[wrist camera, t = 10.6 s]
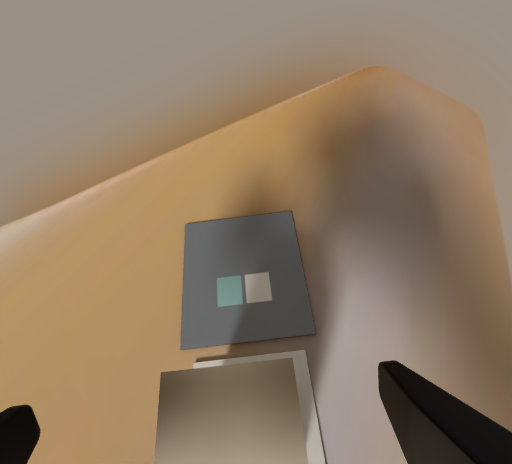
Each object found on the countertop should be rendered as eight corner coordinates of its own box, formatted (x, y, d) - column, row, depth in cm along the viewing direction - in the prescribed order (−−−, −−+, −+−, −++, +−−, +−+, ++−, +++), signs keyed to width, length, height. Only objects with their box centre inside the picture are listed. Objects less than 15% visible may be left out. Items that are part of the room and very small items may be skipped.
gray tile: (315, 334, 21) (316, 333, 20) (181, 350, 21) (180, 349, 20) (291, 212, 26) (291, 210, 26) (186, 225, 26) (185, 223, 26)
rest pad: (331, 500, 16) (332, 502, 16) (192, 515, 16) (191, 517, 16) (304, 350, 20) (305, 349, 20) (194, 363, 20) (193, 362, 20)
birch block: (300, 470, 16) (321, 549, 8) (216, 479, 16) (146, 567, 8) (287, 376, 19) (292, 357, 10) (214, 384, 19) (161, 372, 11)
